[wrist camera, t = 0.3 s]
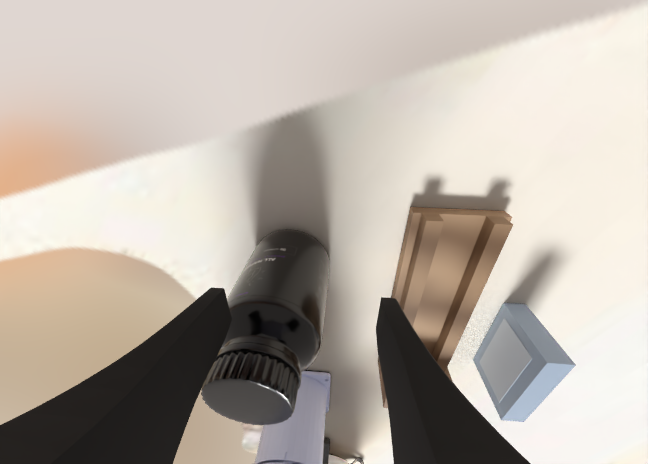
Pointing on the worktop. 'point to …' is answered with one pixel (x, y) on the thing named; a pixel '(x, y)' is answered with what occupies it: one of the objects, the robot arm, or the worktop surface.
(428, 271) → the door track
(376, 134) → the worktop surface
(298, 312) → the supplement bottle
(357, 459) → the coffee press
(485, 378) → the light blue flat block
